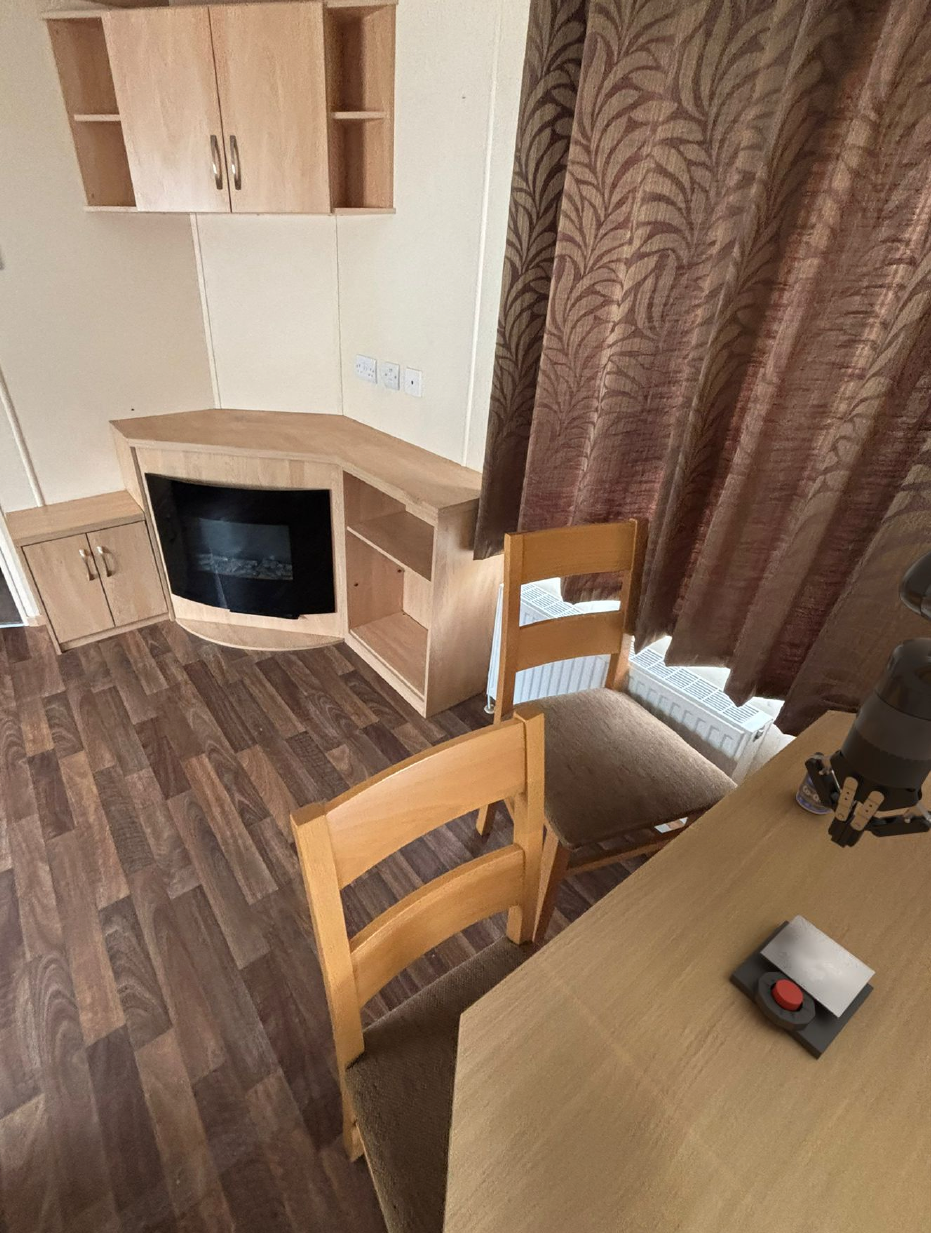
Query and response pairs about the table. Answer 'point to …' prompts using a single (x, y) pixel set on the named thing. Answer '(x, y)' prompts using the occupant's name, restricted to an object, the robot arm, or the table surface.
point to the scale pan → (818, 965)
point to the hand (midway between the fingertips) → (840, 840)
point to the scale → (809, 1019)
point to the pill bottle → (811, 796)
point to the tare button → (787, 995)
